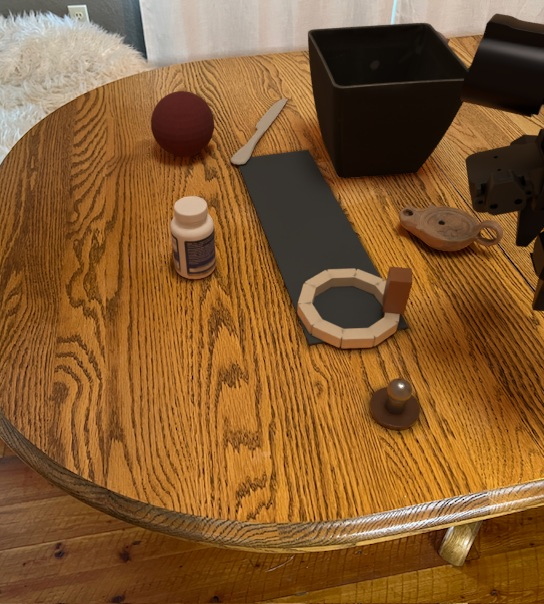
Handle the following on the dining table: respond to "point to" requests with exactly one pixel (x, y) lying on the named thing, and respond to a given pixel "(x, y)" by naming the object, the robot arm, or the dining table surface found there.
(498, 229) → the oil lamp
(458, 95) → the flower pot
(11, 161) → the dining table surface
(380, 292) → the ivory ring
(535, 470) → the dining table surface
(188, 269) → the pill bottle
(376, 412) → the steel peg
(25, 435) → the dining table surface
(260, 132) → the butter knife
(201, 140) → the decorative ball
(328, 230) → the rubber mat
